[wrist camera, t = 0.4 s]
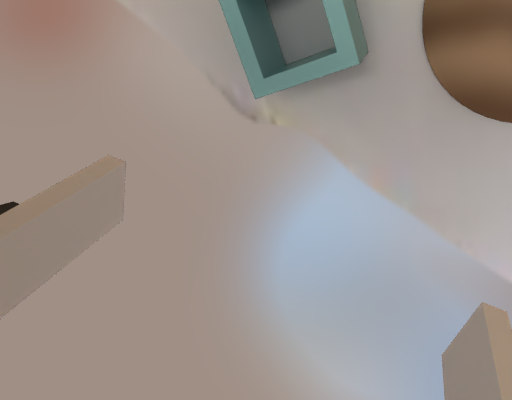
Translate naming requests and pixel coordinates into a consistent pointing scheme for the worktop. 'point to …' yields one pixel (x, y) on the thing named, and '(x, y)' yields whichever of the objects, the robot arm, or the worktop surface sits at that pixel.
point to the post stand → (472, 52)
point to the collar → (269, 53)
